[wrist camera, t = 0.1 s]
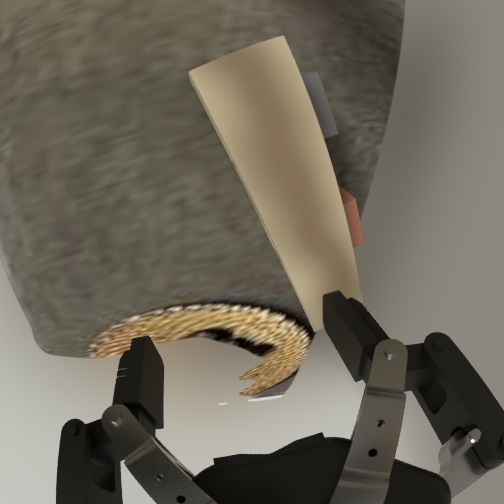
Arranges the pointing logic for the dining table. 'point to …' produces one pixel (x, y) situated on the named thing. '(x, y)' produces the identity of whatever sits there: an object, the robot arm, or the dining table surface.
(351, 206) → the brick red key
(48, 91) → the dining table surface
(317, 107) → the graphite key
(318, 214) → the key panel
